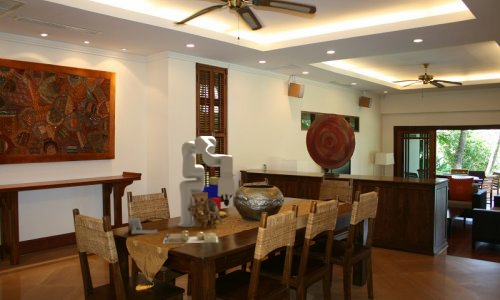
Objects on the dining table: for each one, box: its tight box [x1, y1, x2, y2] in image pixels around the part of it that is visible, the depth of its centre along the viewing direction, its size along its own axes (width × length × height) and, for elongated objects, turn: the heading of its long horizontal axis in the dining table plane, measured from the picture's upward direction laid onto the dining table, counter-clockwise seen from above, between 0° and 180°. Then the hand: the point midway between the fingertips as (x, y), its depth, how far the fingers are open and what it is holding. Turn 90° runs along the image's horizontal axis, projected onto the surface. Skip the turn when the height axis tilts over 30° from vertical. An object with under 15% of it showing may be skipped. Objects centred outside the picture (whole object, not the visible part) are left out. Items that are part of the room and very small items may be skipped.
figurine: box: [199, 176, 228, 217], centre depth 338 cm, size 22×22×30 cm
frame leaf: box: [168, 229, 190, 244], centre depth 251 cm, size 12×11×4 cm
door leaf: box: [196, 231, 217, 243], centre depth 254 cm, size 12×11×4 cm
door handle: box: [127, 217, 158, 235], centre depth 270 cm, size 18×8×20 cm
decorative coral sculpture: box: [188, 197, 224, 229], centre depth 297 cm, size 26×23×30 cm
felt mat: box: [162, 235, 219, 244], centre depth 252 cm, size 15×32×1 cm, turn 97°
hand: (226, 205), depth 254 cm, fingers closed
